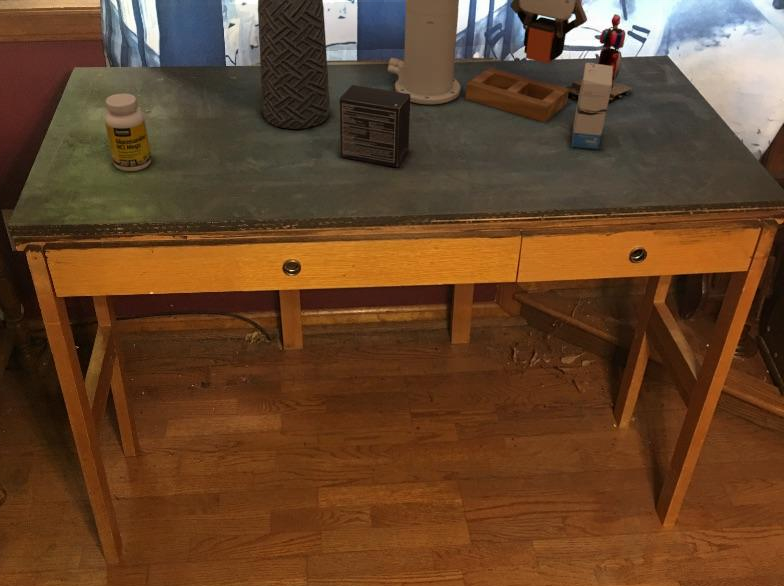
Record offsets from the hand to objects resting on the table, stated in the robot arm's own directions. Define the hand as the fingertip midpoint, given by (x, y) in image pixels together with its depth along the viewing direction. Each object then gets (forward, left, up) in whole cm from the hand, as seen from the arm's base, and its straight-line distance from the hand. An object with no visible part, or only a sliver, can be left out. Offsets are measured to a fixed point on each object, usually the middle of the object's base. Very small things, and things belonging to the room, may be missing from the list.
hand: (542, 53), depth 154 cm
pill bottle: (-45, -59, -10) cm, 75 cm away
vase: (-34, -29, -10) cm, 46 cm away
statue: (+7, +12, -10) cm, 17 cm away
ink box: (+13, -6, -10) cm, 18 cm away
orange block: (0, 0, -1) cm, 1 cm away
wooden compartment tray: (-4, 0, -10) cm, 11 cm away
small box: (-14, -33, -10) cm, 37 cm away
